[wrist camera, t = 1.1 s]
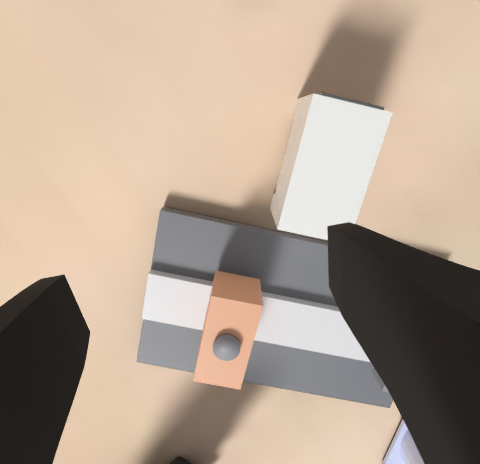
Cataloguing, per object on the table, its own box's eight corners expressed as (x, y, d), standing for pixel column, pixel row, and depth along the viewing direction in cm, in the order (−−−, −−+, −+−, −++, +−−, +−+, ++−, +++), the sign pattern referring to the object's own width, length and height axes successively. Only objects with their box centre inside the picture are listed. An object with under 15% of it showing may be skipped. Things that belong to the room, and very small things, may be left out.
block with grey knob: (259, 279, 23) (263, 309, 20) (240, 353, 25) (240, 394, 21) (215, 270, 23) (211, 299, 19) (199, 345, 25) (191, 385, 21)
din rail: (442, 265, 25) (468, 284, 22) (384, 398, 29) (400, 429, 26) (163, 206, 24) (152, 218, 21) (140, 353, 27) (128, 381, 24)
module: (360, 111, 22) (393, 109, 17) (326, 219, 24) (348, 244, 19) (297, 96, 21) (314, 90, 17) (269, 207, 24) (277, 229, 19)
